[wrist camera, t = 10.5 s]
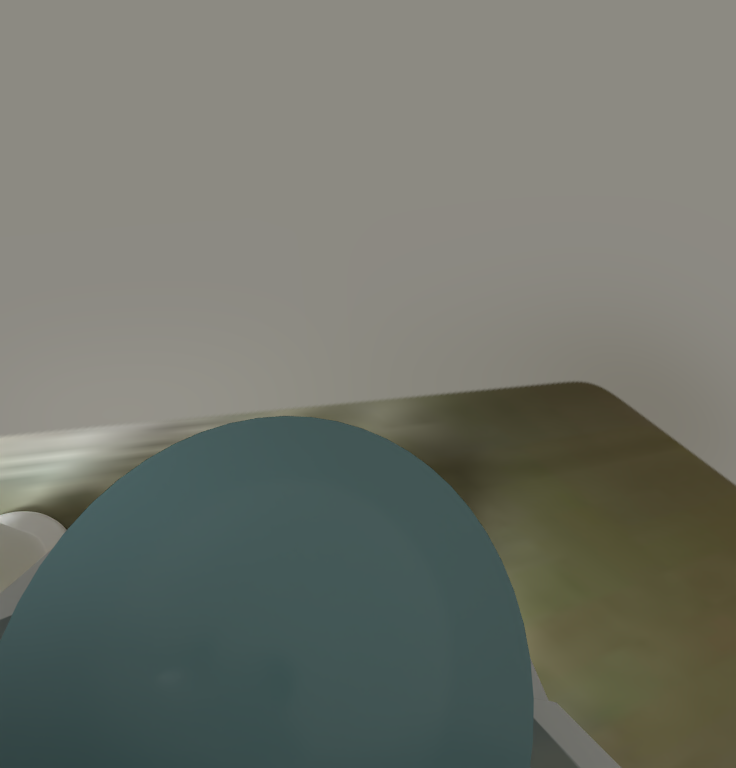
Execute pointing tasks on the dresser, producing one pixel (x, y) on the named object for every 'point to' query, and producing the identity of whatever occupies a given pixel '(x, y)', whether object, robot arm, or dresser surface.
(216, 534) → the teal domed cylinder
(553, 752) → the robot arm
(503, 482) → the dresser surface
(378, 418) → the dresser surface
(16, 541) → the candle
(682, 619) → the dresser surface
